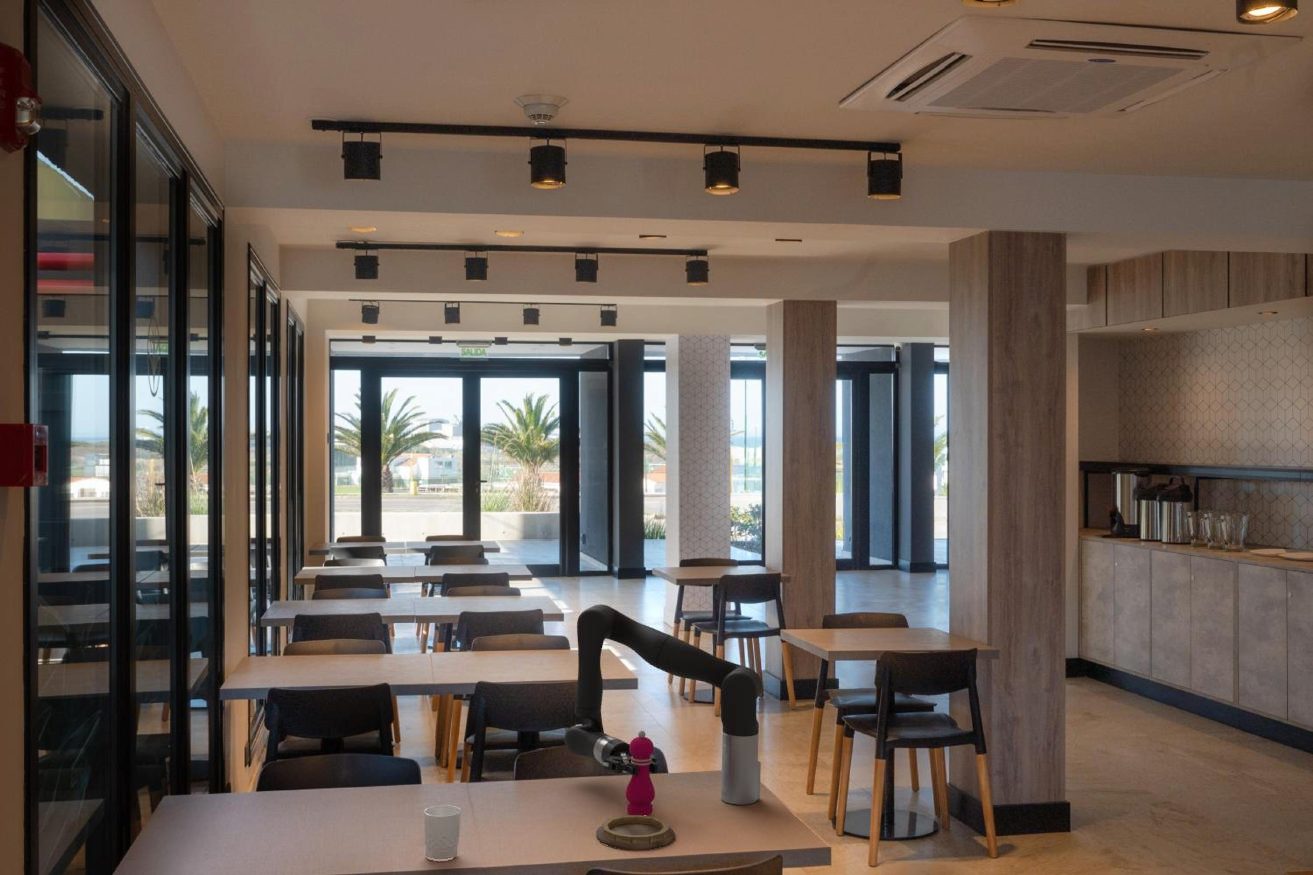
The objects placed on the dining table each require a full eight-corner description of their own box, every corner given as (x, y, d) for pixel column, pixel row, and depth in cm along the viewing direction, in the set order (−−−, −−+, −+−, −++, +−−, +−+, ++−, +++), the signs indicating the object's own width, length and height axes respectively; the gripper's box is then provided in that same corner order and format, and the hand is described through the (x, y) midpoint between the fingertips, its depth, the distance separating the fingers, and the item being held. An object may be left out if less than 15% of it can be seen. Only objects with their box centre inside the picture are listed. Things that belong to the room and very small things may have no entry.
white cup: (425, 850, 258) (426, 804, 258) (461, 849, 259) (462, 804, 259) (421, 863, 251) (422, 816, 251) (458, 862, 251) (459, 816, 251)
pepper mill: (651, 818, 284) (653, 735, 284) (622, 815, 285) (624, 733, 285) (657, 808, 291) (659, 728, 291) (628, 806, 292) (630, 726, 292)
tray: (640, 818, 283) (641, 808, 283) (690, 839, 269) (690, 828, 269) (580, 833, 272) (580, 822, 272) (629, 855, 258) (629, 844, 258)
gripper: (588, 741, 297) (621, 758, 282) (638, 735, 304) (672, 751, 289) (588, 771, 297) (620, 789, 282) (637, 764, 304) (671, 781, 289)
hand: (646, 770), depth 286 cm, fingers closed on pepper mill, 4 cm apart
